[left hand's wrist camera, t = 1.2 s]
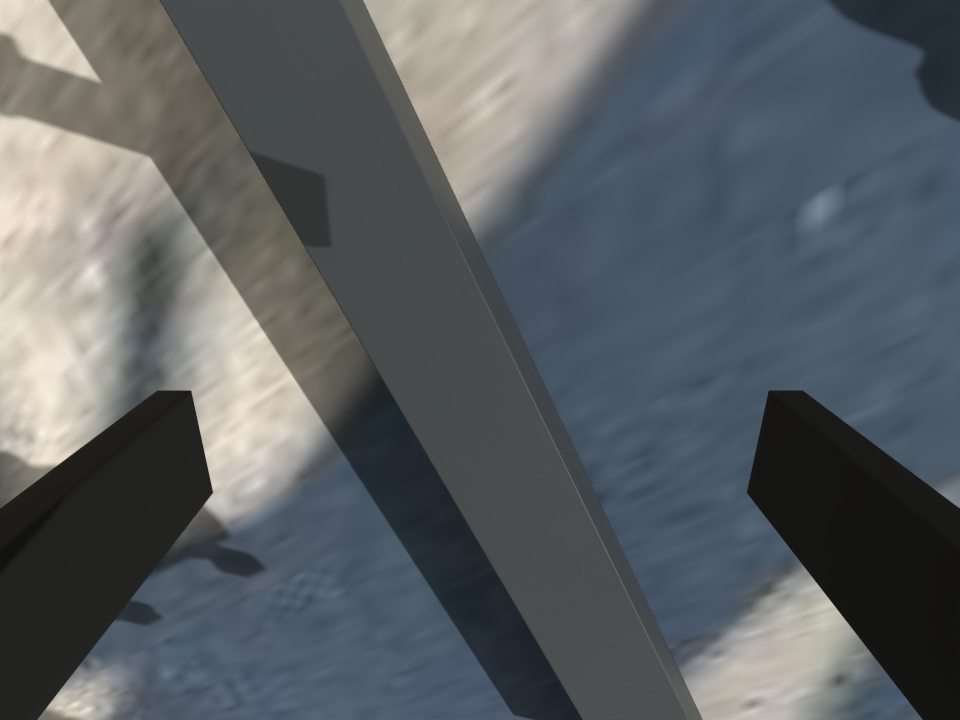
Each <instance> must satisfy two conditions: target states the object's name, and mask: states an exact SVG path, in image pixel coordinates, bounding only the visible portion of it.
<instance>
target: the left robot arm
mask: <svg viewBox="0 0 960 720" xmlns="http://www.w3.org/2000/svg"><path fill="white" fill-rule="evenodd" d="M212 493H213V490H212V486H211V481H210V476H209V472H208V467H207V462H206V458H205V453H204V448H203V444H202V439H201V434H200V430H199V425H198V420H197V416H196V411H195V406H194V402H193V397H192V392H191V391H156V392H155V393H154V394H152V395H151V396H150V397H148V398H147V399H146V400H144V401H143V402H142V403H140V404H139V405H138V406H136V407H135V408H134V409H132V410H131V411H130V412H128V413H127V414H126V415H124V416H123V417H122V418H120V419H119V420H118V421H116V422H115V423H114V424H112V425H111V426H110V427H108V428H107V429H106V430H104V431H103V432H102V433H100V434H99V435H98V436H96V437H95V438H94V439H92V440H91V441H90V442H88V443H87V444H86V445H84V446H83V447H82V448H80V449H79V450H78V451H76V452H75V453H74V454H72V455H71V456H70V457H68V458H67V459H66V460H64V461H63V462H62V463H60V464H59V465H58V466H56V467H55V468H54V469H52V470H51V471H50V472H48V473H47V474H46V475H44V476H43V477H42V478H40V479H39V480H38V481H36V482H35V483H34V484H32V485H31V486H30V487H28V488H27V489H26V490H24V491H23V492H22V493H20V494H19V495H18V496H16V497H15V498H14V499H12V500H11V501H10V502H8V503H7V504H6V505H4V506H3V507H2V508H0V720H37V719H38V718H39V717H40V715H41V714H42V713H43V711H44V710H45V709H46V708H47V706H48V705H49V704H50V702H51V701H52V700H53V699H54V697H55V696H56V695H57V693H58V692H59V691H60V689H61V688H62V687H63V686H64V684H65V683H66V682H67V680H68V679H69V678H70V677H71V675H72V674H73V673H74V671H75V670H76V669H77V668H78V666H79V665H80V664H81V662H82V661H83V660H84V659H85V657H86V656H87V655H88V653H89V652H90V651H91V649H92V648H93V647H94V646H95V644H96V643H97V642H98V640H99V639H100V638H101V637H102V635H103V634H104V633H105V631H106V630H107V629H108V628H109V626H110V625H111V624H112V622H113V621H114V620H115V619H116V617H117V616H118V615H119V613H120V612H121V611H122V609H123V608H124V607H125V606H126V604H127V603H128V602H129V600H130V599H131V598H132V597H133V595H134V594H135V593H136V591H137V590H138V589H139V588H140V586H141V585H142V584H143V582H144V581H145V580H146V579H147V577H148V576H149V575H150V573H151V572H152V571H153V569H154V568H155V567H156V566H157V564H158V563H159V562H160V560H161V559H162V558H163V557H164V555H165V554H166V553H167V551H168V550H169V549H170V548H171V546H172V545H173V544H174V542H175V541H176V540H177V539H178V537H179V536H180V535H181V533H182V532H183V531H184V530H185V528H186V527H187V526H188V524H189V523H190V522H191V520H192V519H193V518H194V517H195V515H196V514H197V513H198V511H199V510H200V509H201V508H202V506H203V505H204V504H205V502H206V501H207V500H208V499H209V497H210V496H211V495H212ZM747 493H748V495H749V496H750V497H751V499H752V500H753V501H754V502H755V504H756V505H757V506H758V508H759V509H760V510H761V511H762V513H763V514H764V515H765V517H766V518H767V519H768V520H769V522H770V523H771V524H772V526H773V527H774V528H775V530H776V531H777V532H778V533H779V535H780V536H781V537H782V539H783V540H784V541H785V542H786V544H787V545H788V546H789V548H790V549H791V550H792V551H793V553H794V554H795V555H796V557H797V558H798V559H799V560H800V562H801V563H802V564H803V566H804V567H805V568H806V570H807V571H808V572H809V573H810V575H811V576H812V577H813V579H814V580H815V581H816V582H817V584H818V585H819V586H820V588H821V589H822V590H823V591H824V593H825V594H826V595H827V597H828V598H829V599H830V600H831V602H832V603H833V604H834V606H835V607H836V608H837V609H838V611H839V612H840V613H841V615H842V616H843V617H844V619H845V620H846V621H847V622H848V624H849V625H850V626H851V628H852V629H853V630H854V631H855V633H856V634H857V635H858V637H859V638H860V639H861V640H862V642H863V643H864V644H865V646H866V647H867V648H868V649H869V651H870V652H871V653H872V655H873V656H874V657H875V659H876V660H877V661H878V662H879V664H880V665H881V666H882V668H883V669H884V670H885V671H886V673H887V674H888V675H889V677H890V678H891V679H892V680H893V682H894V683H895V684H896V686H897V687H898V688H899V689H900V691H901V692H902V693H903V695H904V696H905V697H906V699H907V700H908V701H909V702H910V704H911V705H912V706H913V708H914V709H915V710H916V711H917V713H918V714H919V715H920V717H921V718H922V719H923V720H960V508H958V507H957V506H956V505H954V504H953V503H952V502H950V501H949V500H948V499H946V498H945V497H944V496H942V495H941V494H940V493H938V492H937V491H936V490H934V489H933V488H932V487H930V486H929V485H928V484H926V483H925V482H924V481H922V480H921V479H920V478H918V477H917V476H916V475H914V474H913V473H912V472H910V471H909V470H908V469H906V468H905V467H904V466H902V465H901V464H900V463H898V462H897V461H896V460H894V459H893V458H892V457H890V456H889V455H888V454H886V453H885V452H884V451H882V450H881V449H880V448H878V447H877V446H876V445H874V444H873V443H872V442H870V441H869V440H868V439H866V438H865V437H864V436H862V435H861V434H860V433H858V432H857V431H856V430H854V429H853V428H852V427H850V426H849V425H848V424H846V423H845V422H844V421H842V420H841V419H840V418H838V417H837V416H836V415H834V414H833V413H832V412H830V411H829V410H828V409H826V408H825V407H824V406H822V405H821V404H820V403H818V402H817V401H816V400H814V399H813V398H812V397H810V396H809V395H808V394H806V393H805V392H804V391H769V392H768V397H767V402H766V406H765V411H764V416H763V420H762V425H761V430H760V434H759V439H758V444H757V448H756V453H755V458H754V462H753V467H752V472H751V476H750V481H749V486H748V490H747Z"/></svg>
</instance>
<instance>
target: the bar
mask: <svg viewBox="0 0 960 720" xmlns="http://www.w3.org/2000/svg"><path fill="white" fill-rule="evenodd" d="M160 1H161V3H162V5H163V7H164V8H165V10H166V12H167V13H168V15H169V17H170V18H171V20H172V22H173V24H174V25H175V27H176V29H177V30H178V32H179V34H180V35H181V37H182V39H183V41H184V42H185V44H186V46H187V47H188V49H189V51H190V53H191V54H192V56H193V58H194V59H195V61H196V63H197V64H198V66H199V68H200V70H201V71H202V73H203V75H204V76H205V78H206V80H207V81H208V83H209V85H210V87H211V88H212V90H213V92H214V93H215V95H216V97H217V98H218V100H219V102H220V104H221V105H222V107H223V109H224V110H225V112H226V114H227V115H228V117H229V119H230V121H231V122H232V124H233V126H234V127H235V129H236V131H237V133H238V134H239V136H240V138H241V139H242V141H243V143H244V144H245V146H246V148H247V150H248V151H249V153H250V155H251V156H252V158H253V160H254V161H255V163H256V165H257V167H258V168H259V170H260V172H261V173H262V175H263V177H264V178H265V180H266V182H267V184H268V185H269V187H270V189H271V190H272V192H273V194H274V195H275V197H276V199H277V201H278V202H279V204H280V206H281V207H282V209H283V211H284V212H285V214H286V216H287V218H288V219H289V221H290V223H291V224H292V226H293V228H294V230H295V231H296V233H297V235H298V236H299V238H300V240H301V241H302V243H303V245H304V247H305V248H306V250H307V252H308V253H309V255H310V257H311V258H312V260H313V262H314V264H315V265H316V267H317V269H318V270H319V272H320V274H321V275H322V277H323V279H324V281H325V282H326V284H327V286H328V287H329V289H330V291H331V292H332V294H333V296H334V298H335V299H336V301H337V303H338V304H339V306H340V308H341V309H342V311H343V313H344V315H345V316H346V318H347V320H348V321H349V323H350V325H351V327H352V328H353V330H354V332H355V333H356V335H357V337H358V338H359V340H360V342H361V344H362V345H363V347H364V349H365V350H366V352H367V354H368V355H369V357H370V359H371V361H372V362H373V364H374V366H375V367H376V369H377V371H378V372H379V374H380V376H381V378H382V379H383V381H384V383H385V384H386V386H387V388H388V389H389V391H390V393H391V395H392V396H393V398H394V400H395V401H396V403H397V405H398V407H399V408H400V410H401V412H402V413H403V415H404V417H405V418H406V420H407V422H408V424H409V425H410V427H411V429H412V430H413V432H414V434H415V435H416V437H417V439H418V441H419V442H420V444H421V446H422V447H423V449H424V451H425V452H426V454H427V456H428V458H429V459H430V461H431V463H432V464H433V466H434V468H435V469H436V471H437V473H438V475H439V476H440V478H441V480H442V481H443V483H444V485H445V486H446V488H447V490H448V492H449V493H450V495H451V497H452V498H453V500H454V502H455V504H456V505H457V507H458V509H459V510H460V512H461V514H462V515H463V517H464V519H465V521H466V522H467V524H468V526H469V527H470V529H471V531H472V532H473V534H474V536H475V538H476V539H477V541H478V543H479V544H480V546H481V548H482V549H483V551H484V553H485V555H486V556H487V558H488V560H489V561H490V563H491V565H492V566H493V568H494V570H495V572H496V573H497V575H498V577H499V578H500V580H501V582H502V583H503V585H504V587H505V589H506V590H507V592H508V594H509V595H510V597H511V599H512V601H513V602H514V604H515V606H516V607H517V609H518V611H519V612H520V614H521V616H522V618H523V619H524V621H525V623H526V624H527V626H528V628H529V629H530V631H531V633H532V635H533V636H534V638H535V640H536V641H537V643H538V645H539V646H540V648H541V650H542V652H543V653H544V655H545V657H546V658H547V660H548V662H549V663H550V665H551V667H552V669H553V670H554V672H555V674H556V675H557V677H558V679H559V681H560V682H561V684H562V686H563V687H564V689H565V691H566V692H567V694H568V696H569V698H570V699H571V701H572V703H573V704H574V706H575V708H576V709H577V711H578V713H579V715H580V716H581V718H582V720H702V718H701V716H700V713H699V711H698V709H697V707H696V705H695V703H694V701H693V699H692V696H691V694H690V692H689V690H688V688H687V686H686V684H685V682H684V680H683V677H682V675H681V673H680V671H679V669H678V667H677V665H676V663H675V660H674V658H673V656H672V654H671V652H670V650H669V648H668V646H667V644H666V641H665V639H664V637H663V635H662V633H661V631H660V629H659V627H658V624H657V622H656V620H655V618H654V616H653V614H652V612H651V610H650V607H649V605H648V603H647V601H646V599H645V597H644V595H643V593H642V591H641V588H640V586H639V584H638V582H637V580H636V578H635V576H634V574H633V571H632V569H631V567H630V565H629V563H628V561H627V559H626V557H625V555H624V552H623V550H622V548H621V546H620V544H619V542H618V540H617V538H616V535H615V533H614V531H613V529H612V527H611V525H610V523H609V521H608V519H607V516H606V514H605V512H604V510H603V508H602V506H601V504H600V502H599V499H598V497H597V495H596V493H595V491H594V489H593V487H592V485H591V483H590V480H589V478H588V476H587V474H586V472H585V470H584V468H583V466H582V463H581V461H580V459H579V457H578V455H577V453H576V451H575V449H574V446H573V444H572V442H571V440H570V438H569V436H568V434H567V432H566V430H565V427H564V425H563V423H562V421H561V419H560V417H559V415H558V413H557V410H556V408H555V406H554V404H553V402H552V400H551V398H550V396H549V394H548V391H547V389H546V387H545V385H544V383H543V381H542V379H541V377H540V374H539V372H538V370H537V368H536V366H535V364H534V362H533V360H532V358H531V355H530V353H529V351H528V349H527V347H526V345H525V343H524V341H523V338H522V336H521V334H520V332H519V330H518V328H517V326H516V324H515V322H514V319H513V317H512V315H511V313H510V311H509V309H508V307H507V305H506V302H505V300H504V298H503V296H502V294H501V292H500V290H499V288H498V285H497V283H496V281H495V279H494V277H493V275H492V273H491V271H490V269H489V266H488V264H487V262H486V260H485V258H484V256H483V254H482V252H481V249H480V247H479V245H478V243H477V241H476V239H475V237H474V235H473V233H472V230H471V228H470V226H469V224H468V222H467V220H466V218H465V216H464V213H463V211H462V209H461V207H460V205H459V203H458V201H457V199H456V197H455V194H454V192H453V190H452V188H451V186H450V184H449V182H448V180H447V177H446V175H445V173H444V171H443V169H442V167H441V165H440V163H439V161H438V158H437V156H436V154H435V152H434V150H433V148H432V146H431V144H430V141H429V139H428V137H427V135H426V133H425V131H424V129H423V127H422V124H421V122H420V120H419V118H418V116H417V114H416V112H415V110H414V108H413V105H412V103H411V101H410V99H409V97H408V95H407V93H406V91H405V88H404V86H403V84H402V82H401V80H400V78H399V76H398V74H397V72H396V69H395V67H394V65H393V63H392V61H391V59H390V57H389V55H388V52H387V50H386V48H385V46H384V44H383V42H382V40H381V38H380V36H379V33H378V31H377V29H376V27H375V25H374V23H373V21H372V19H371V16H370V14H369V12H368V10H367V8H366V6H365V4H364V2H363V0H160Z"/></svg>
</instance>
